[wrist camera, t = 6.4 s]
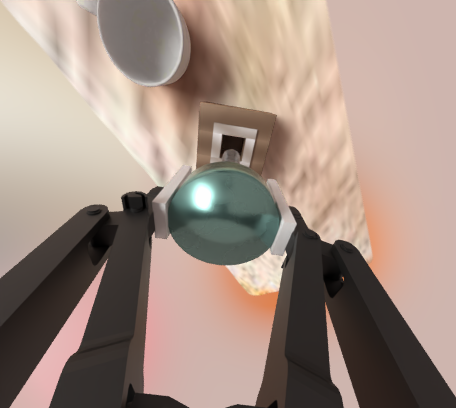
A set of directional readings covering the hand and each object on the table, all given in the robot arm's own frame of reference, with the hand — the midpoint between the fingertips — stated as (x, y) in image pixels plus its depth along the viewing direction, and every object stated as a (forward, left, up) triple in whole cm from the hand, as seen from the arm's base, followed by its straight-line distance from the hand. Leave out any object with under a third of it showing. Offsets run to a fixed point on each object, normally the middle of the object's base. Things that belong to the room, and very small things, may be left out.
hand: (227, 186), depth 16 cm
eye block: (0, 0, -22) cm, 22 cm away
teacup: (-13, -15, -22) cm, 30 cm away
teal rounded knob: (0, 0, -9) cm, 9 cm away
